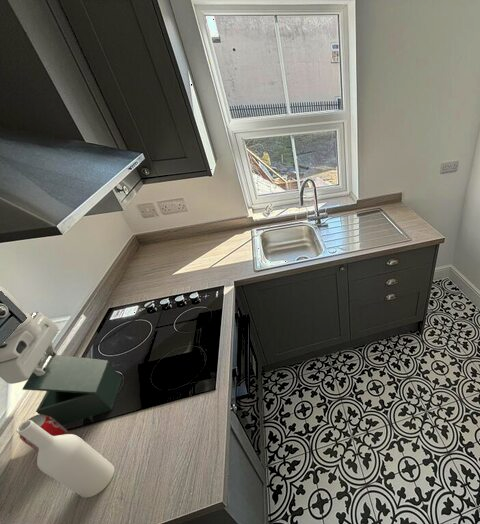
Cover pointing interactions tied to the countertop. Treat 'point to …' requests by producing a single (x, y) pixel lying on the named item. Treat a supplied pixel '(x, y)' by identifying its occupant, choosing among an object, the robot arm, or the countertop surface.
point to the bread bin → (82, 400)
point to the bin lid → (67, 374)
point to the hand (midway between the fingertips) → (47, 364)
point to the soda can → (46, 428)
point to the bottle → (69, 460)
